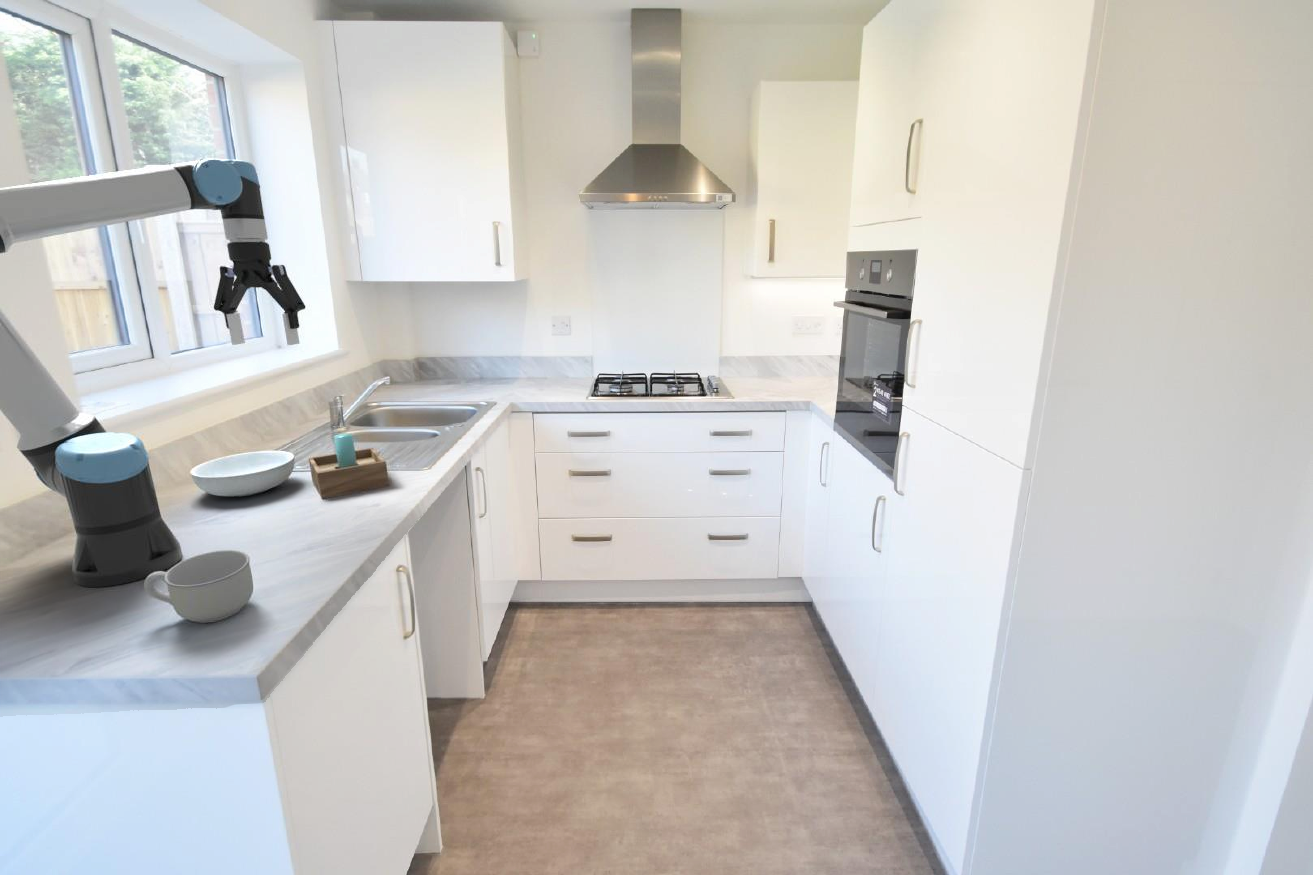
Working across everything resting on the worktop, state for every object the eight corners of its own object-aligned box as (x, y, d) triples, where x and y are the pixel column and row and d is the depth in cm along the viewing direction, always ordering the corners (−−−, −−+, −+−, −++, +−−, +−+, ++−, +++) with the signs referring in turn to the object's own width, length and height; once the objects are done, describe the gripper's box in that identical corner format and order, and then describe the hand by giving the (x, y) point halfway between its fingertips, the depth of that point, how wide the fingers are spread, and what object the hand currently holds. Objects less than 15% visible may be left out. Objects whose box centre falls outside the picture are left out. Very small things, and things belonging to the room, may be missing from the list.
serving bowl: (294, 470, 169) (290, 445, 167) (302, 494, 152) (297, 465, 150) (197, 486, 158) (191, 459, 156) (194, 513, 141) (187, 483, 139)
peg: (352, 486, 156) (345, 438, 153) (337, 486, 156) (330, 437, 153) (362, 481, 160) (356, 433, 156) (348, 480, 160) (341, 433, 157)
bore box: (389, 485, 156) (386, 461, 155) (321, 498, 148) (317, 473, 147) (375, 470, 168) (372, 447, 166) (312, 481, 160) (308, 458, 158)
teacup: (271, 593, 106) (263, 548, 104) (232, 630, 96) (221, 581, 93) (184, 596, 106) (173, 551, 103) (134, 634, 95) (121, 584, 93)
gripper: (313, 240, 137) (328, 342, 143) (211, 243, 141) (229, 341, 147) (287, 239, 130) (304, 346, 135) (180, 242, 134) (201, 346, 140)
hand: (265, 344), depth 141 cm, fingers open, 13 cm apart
